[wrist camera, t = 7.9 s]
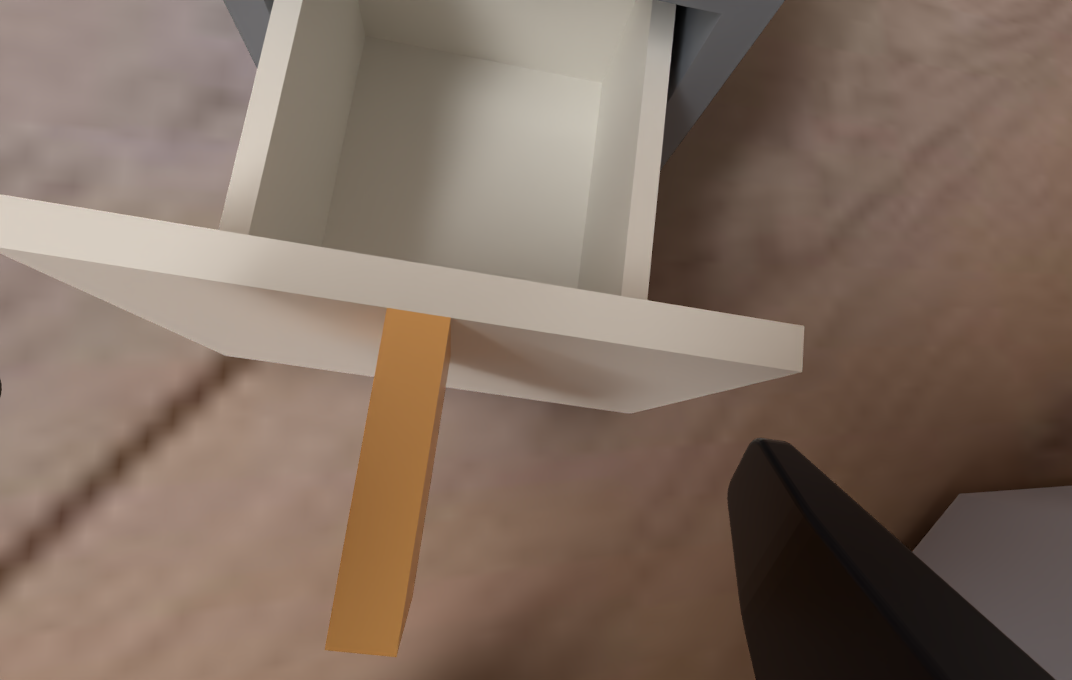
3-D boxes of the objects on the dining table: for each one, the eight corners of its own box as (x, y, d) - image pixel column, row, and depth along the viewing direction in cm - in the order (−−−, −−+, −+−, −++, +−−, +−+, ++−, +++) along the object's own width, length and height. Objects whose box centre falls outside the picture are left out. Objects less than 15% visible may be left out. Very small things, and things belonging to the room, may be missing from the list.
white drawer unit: (614, 573, 20) (786, 695, 10) (186, 524, 18) (-135, 604, 8) (662, 96, 23) (828, -187, 13) (301, 25, 22) (170, -354, 12)
